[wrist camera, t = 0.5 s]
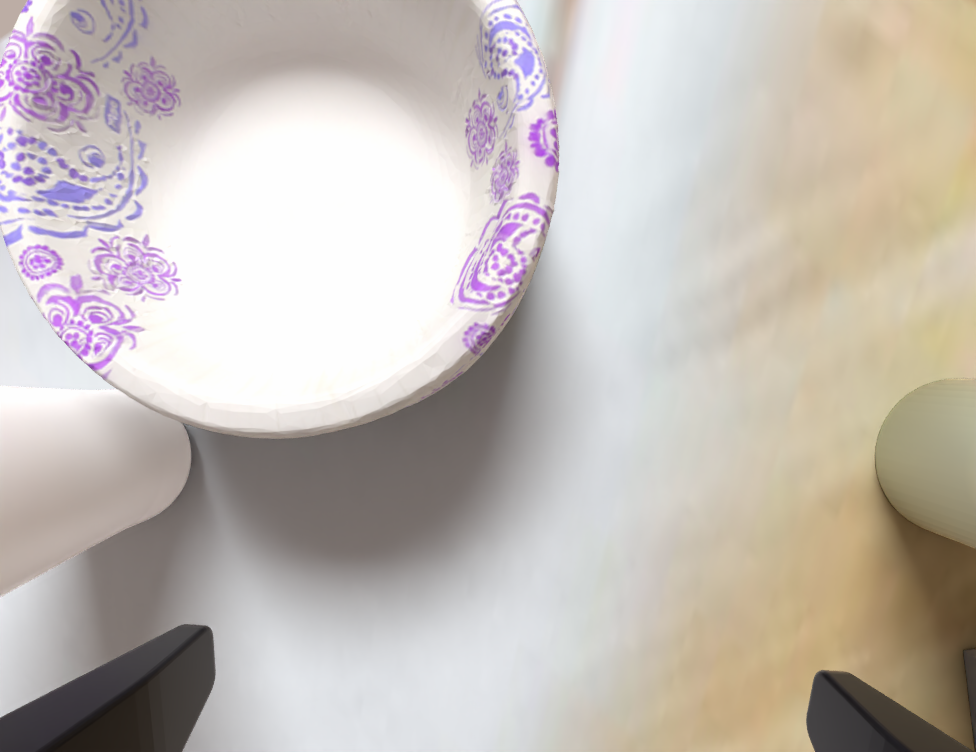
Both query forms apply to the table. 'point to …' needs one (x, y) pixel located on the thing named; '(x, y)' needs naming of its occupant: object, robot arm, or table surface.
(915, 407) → the domed cap cylinder
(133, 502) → the white vase
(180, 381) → the paper bowls
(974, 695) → the tray
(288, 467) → the table surface
